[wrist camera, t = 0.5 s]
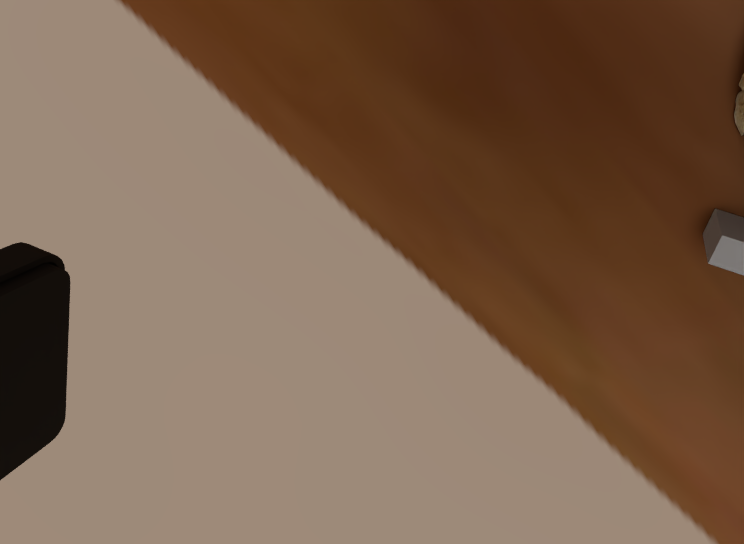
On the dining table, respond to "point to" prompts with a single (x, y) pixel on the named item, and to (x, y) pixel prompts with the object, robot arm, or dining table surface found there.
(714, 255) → the channel
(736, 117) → the bread roll
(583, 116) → the dining table surface
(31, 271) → the robot arm
